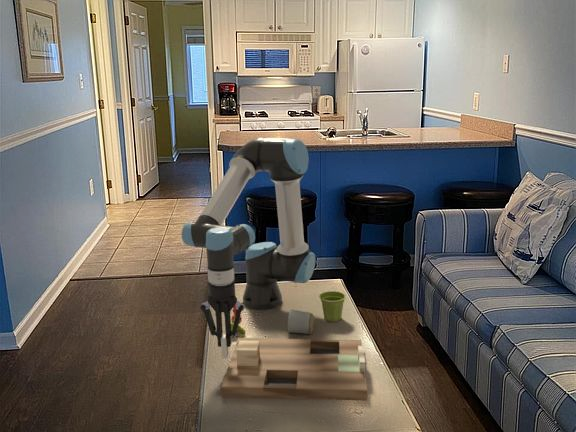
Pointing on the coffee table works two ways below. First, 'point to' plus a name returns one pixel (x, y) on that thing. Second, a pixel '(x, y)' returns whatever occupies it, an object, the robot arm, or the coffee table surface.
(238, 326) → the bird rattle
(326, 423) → the coffee table surface
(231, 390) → the board
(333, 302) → the plant pot
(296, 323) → the ceramic mug
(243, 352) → the maple block
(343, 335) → the coffee table surface
